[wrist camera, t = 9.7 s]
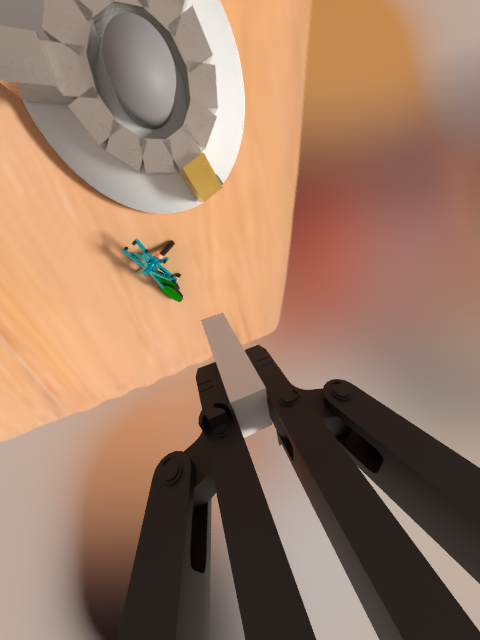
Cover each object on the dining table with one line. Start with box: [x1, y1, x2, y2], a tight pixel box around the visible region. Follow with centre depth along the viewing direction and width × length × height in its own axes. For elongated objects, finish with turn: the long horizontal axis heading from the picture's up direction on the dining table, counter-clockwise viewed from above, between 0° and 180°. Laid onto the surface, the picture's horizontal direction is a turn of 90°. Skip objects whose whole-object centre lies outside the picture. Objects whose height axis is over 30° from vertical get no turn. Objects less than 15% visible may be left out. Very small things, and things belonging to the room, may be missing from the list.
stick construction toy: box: [122, 239, 183, 302], centre depth 32 cm, size 12×7×8 cm
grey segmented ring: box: [0, 0, 223, 202], centre depth 22 cm, size 21×19×4 cm
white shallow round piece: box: [0, 0, 245, 214], centre depth 21 cm, size 24×24×7 cm
